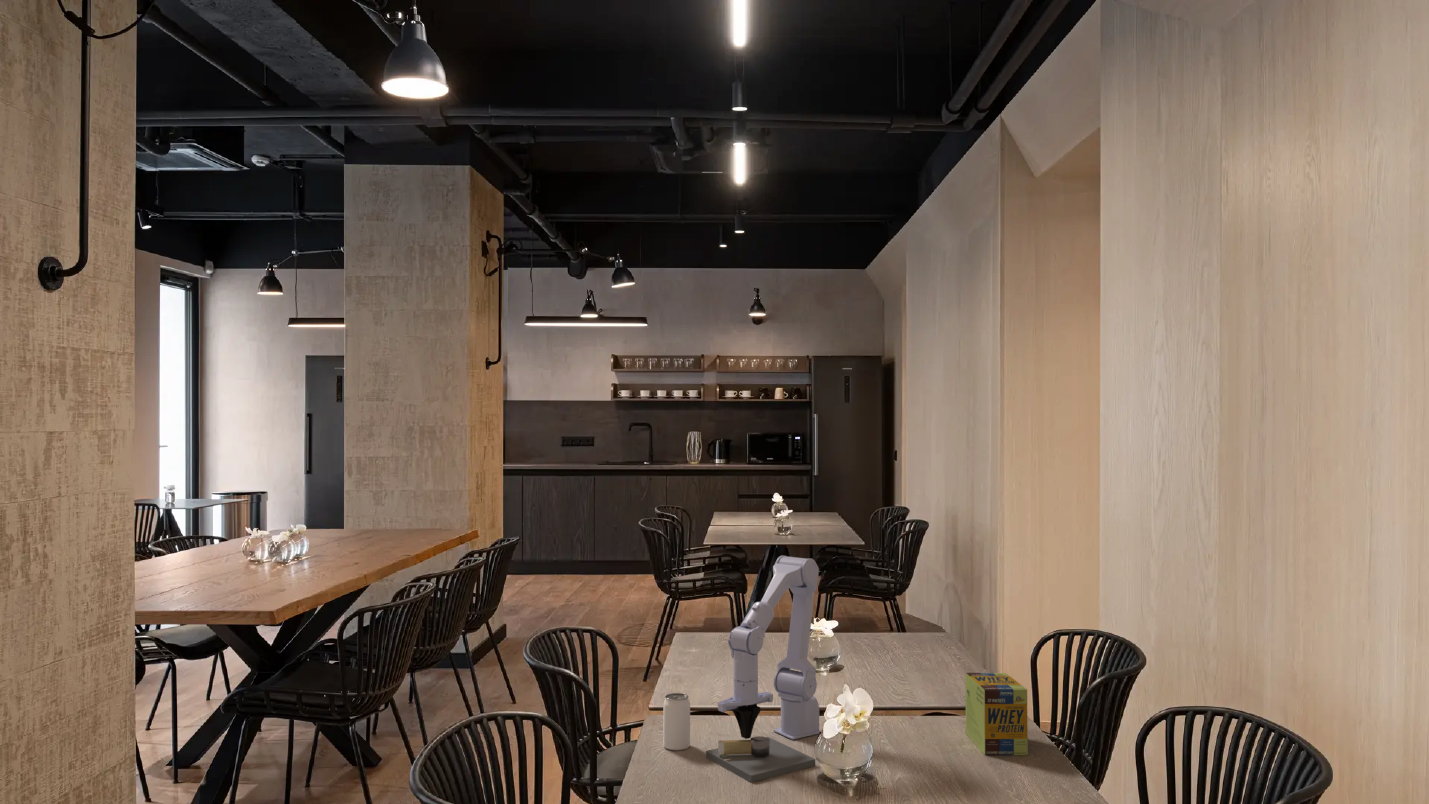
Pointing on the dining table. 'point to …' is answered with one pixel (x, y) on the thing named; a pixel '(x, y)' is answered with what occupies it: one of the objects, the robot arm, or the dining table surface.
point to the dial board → (763, 762)
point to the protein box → (996, 713)
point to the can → (676, 722)
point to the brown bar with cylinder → (745, 746)
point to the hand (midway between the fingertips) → (745, 737)
